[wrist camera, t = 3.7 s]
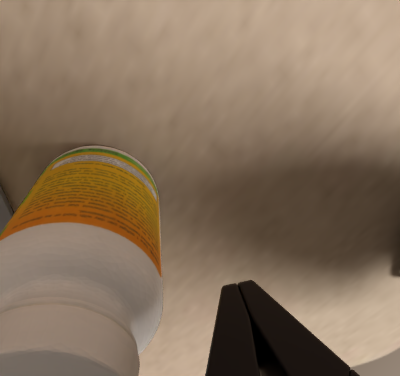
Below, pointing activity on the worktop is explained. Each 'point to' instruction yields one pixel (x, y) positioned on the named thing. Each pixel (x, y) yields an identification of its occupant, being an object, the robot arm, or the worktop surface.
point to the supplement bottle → (82, 269)
